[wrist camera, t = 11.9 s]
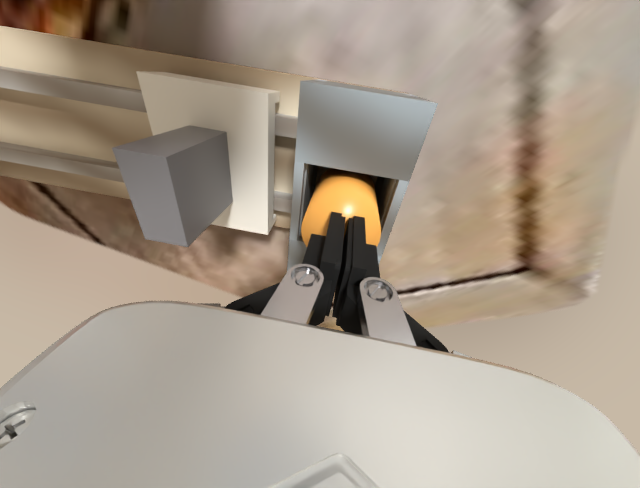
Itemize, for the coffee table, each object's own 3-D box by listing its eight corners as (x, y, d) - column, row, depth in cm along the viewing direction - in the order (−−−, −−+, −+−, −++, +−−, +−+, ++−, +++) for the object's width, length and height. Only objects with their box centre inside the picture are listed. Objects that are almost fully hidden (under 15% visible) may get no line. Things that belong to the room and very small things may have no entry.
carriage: (163, 71, 16) (18, 68, 9) (279, 91, 16) (219, 102, 9) (191, 204, 22) (115, 263, 15) (276, 220, 22) (238, 286, 15)
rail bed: (-113, 7, 18) (-383, -33, 11) (406, 92, 17) (437, 103, 10) (-6, 166, 25) (-134, 198, 18) (365, 234, 24) (367, 293, 17)
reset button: (319, 159, 15) (305, 190, 11) (382, 170, 15) (391, 205, 11) (312, 214, 17) (298, 257, 13) (366, 224, 17) (369, 270, 13)
